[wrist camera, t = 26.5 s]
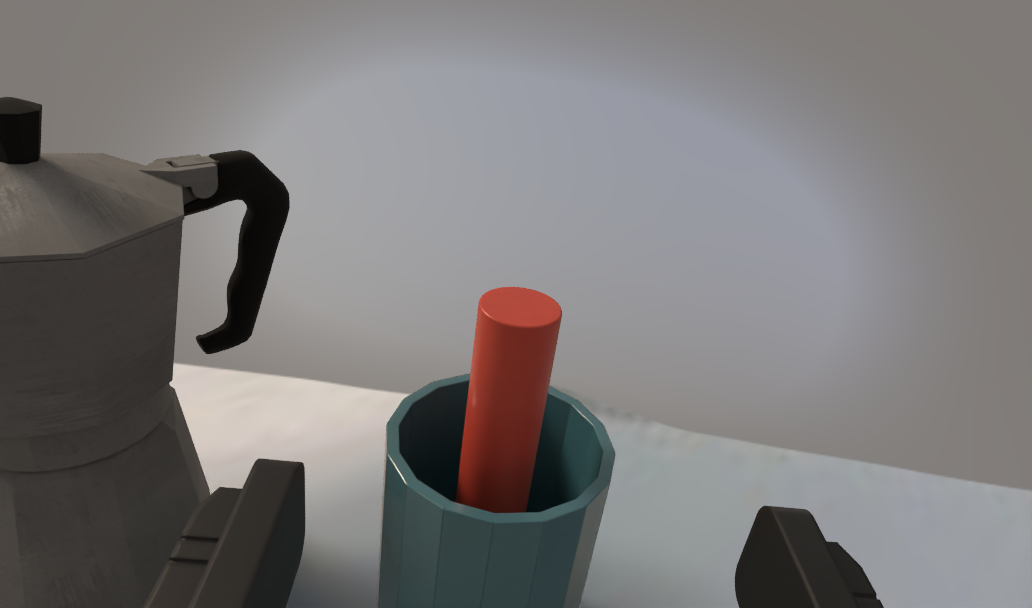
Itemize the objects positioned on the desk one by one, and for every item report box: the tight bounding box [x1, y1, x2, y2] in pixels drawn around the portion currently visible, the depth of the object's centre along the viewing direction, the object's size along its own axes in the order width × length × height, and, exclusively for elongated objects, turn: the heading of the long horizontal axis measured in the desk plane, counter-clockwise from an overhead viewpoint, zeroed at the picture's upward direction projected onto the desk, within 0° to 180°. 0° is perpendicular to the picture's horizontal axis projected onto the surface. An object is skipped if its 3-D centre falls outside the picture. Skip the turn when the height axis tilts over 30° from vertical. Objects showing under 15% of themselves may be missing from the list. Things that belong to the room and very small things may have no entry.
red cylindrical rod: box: [455, 287, 562, 513], centre depth 24 cm, size 2×2×14 cm
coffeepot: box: [0, 97, 289, 608], centre depth 26 cm, size 15×9×18 cm, turn 136°
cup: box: [377, 374, 615, 608], centre depth 25 cm, size 7×7×10 cm
